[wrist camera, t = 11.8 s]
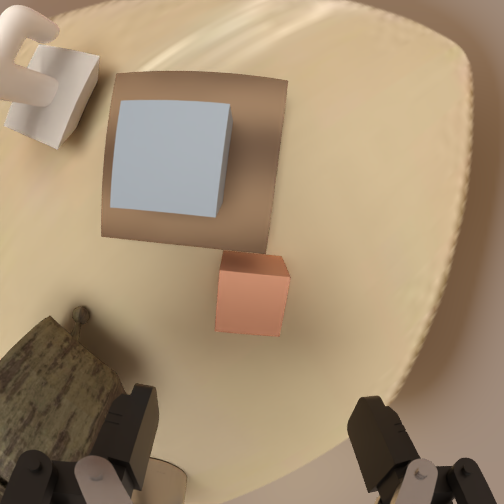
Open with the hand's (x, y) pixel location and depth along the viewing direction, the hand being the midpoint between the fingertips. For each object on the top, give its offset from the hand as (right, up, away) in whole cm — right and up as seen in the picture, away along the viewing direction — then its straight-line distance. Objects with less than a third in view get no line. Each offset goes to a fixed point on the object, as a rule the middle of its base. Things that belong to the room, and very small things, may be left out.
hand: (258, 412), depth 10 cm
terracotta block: (0, +4, +13) cm, 14 cm away
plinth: (-4, +13, +10) cm, 17 cm away
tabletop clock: (-18, -5, +15) cm, 24 cm away
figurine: (-16, +19, +8) cm, 26 cm away
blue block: (-4, +12, +7) cm, 14 cm away
